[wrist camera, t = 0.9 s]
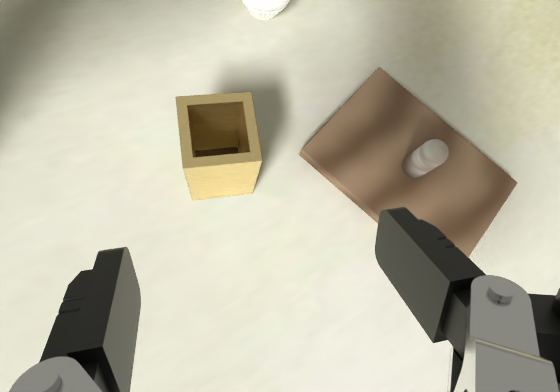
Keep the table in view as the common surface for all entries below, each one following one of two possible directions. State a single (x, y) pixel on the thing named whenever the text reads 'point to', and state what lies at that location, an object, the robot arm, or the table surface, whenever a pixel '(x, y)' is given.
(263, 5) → the muffin
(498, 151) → the table surface
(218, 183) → the wooden sleeve
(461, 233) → the post board
